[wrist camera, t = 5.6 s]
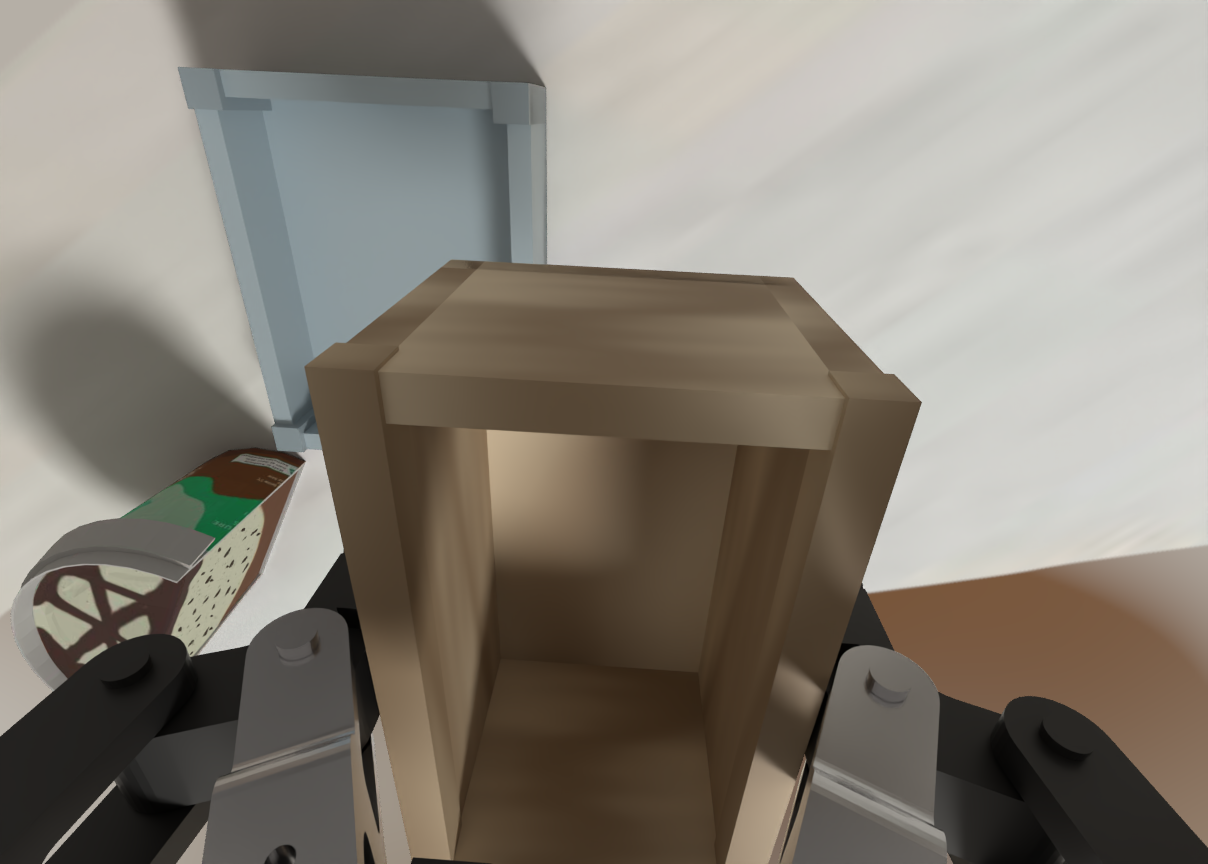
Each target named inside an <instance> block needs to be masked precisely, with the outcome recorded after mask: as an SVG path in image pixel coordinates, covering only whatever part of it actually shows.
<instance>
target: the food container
mask: <svg viewBox="0 0 1208 864" xmlns="http://www.w3.org/2000/svg"><path fill="white" fill-rule="evenodd" d="M305 462H306V461H304V460H301V459H299V458H296V457H294V456H291V455H289V454H286V453H283V452H278V451H272V450H266V449H260V448H247V449H238V450H229V451H227V452H225V453H223V454H221V455H219V456H217V457H215V458H213V459H211V460H209V461H207V462H206V463H204V464H202V465H201V466H199V467H198V468H196V469H195V470H193V471H192V472H190V473H189V474H187V475H186V476H184V477H182V478H181V479H179V480H178V481H176V482H175V483H173V484H172V485H170V486H169V487H167V488H166V489H164V490H162V491H161V492H159V493H158V494H156V495H155V496H153V497H152V498H150V499H149V500H147V501H146V502H144V503H143V504H141V505H139V506H138V507H136V508H135V509H133V510H132V511H130V512H129V513H127V514H126V515H124V516H123V517H121V518H118V519H110V520H102V521H96V522H93V523H89V524H86V525H83V526H79V527H78V528H76V529H74V530H72V531H70V532H68V533H67V534H65V535H63V536H62V537H61V538H60V539H59V540H58V541H57V542H56V543H55V544H54V545H53V546H52V547H51V548H50V549H49V550H48V551H47V553H46V554H45V555H44V556H43V557H42V558H41V559H40V560H39V562H38V563H37V564H36V565H35V566H34V567H33V568H32V570H31V571H30V572H29V573H28V575H27V577H26V578H25V580H24V582H23V583H22V586H21V589H20V591H19V592H18V594H17V596H16V597H15V599H14V602H13V606H12V610H11V628H12V631H13V635H14V639H15V642H16V644H17V646H18V648H19V650H20V652H21V654H22V656H23V657H24V659H25V660H26V662H27V663H28V665H29V666H30V667H31V669H32V670H33V671H34V673H35V674H36V675H37V676H38V677H39V678H40V679H41V680H42V681H43V682H44V684H45V685H46V686H48V687H49V688H50V689H51V690H52V691H54V690H55V689H57V688H58V687H59V686H60V685H61V684H62V683H64V682H65V681H66V680H67V679H68V678H69V677H71V676H72V675H73V674H74V673H75V672H76V671H78V670H79V669H80V668H81V667H82V666H83V665H85V664H86V663H87V662H88V661H90V660H91V659H92V658H94V657H95V656H96V655H98V654H100V653H101V652H103V651H104V650H106V649H108V648H110V647H112V646H114V645H116V644H118V643H121V642H123V641H126V640H129V639H131V638H135V637H139V636H143V635H149V634H168V635H172V636H175V637H177V638H179V639H181V640H182V642H183V643H184V644H185V646H186V648H187V651H188V653H189V655H190V657H192V656H197V655H198V654H199V653H200V652H201V651H202V649H203V648H204V647H205V646H206V644H207V643H208V642H209V641H210V639H211V638H212V637H213V636H214V634H215V633H216V632H217V631H218V629H219V628H220V627H221V625H222V624H223V623H224V622H225V620H226V619H227V618H228V617H229V615H230V614H231V613H232V612H233V610H234V609H235V608H236V607H237V605H238V604H239V603H240V602H241V600H242V599H243V598H244V596H245V595H246V594H247V593H248V591H249V590H250V589H251V588H252V586H253V585H254V584H255V583H256V581H257V580H258V579H259V578H260V576H261V575H262V574H263V571H264V568H265V566H266V563H267V561H268V558H269V555H270V553H271V550H272V548H273V545H274V542H275V540H276V537H277V535H278V532H279V529H280V527H281V524H282V522H283V519H284V516H285V514H286V511H287V509H288V506H289V504H290V501H291V498H292V496H293V493H294V491H295V488H296V485H297V483H298V480H299V478H300V475H301V472H302V470H303V467H304V465H305Z"/></svg>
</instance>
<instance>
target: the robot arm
mask: <svg viewBox="0 0 1208 864" xmlns="http://www.w3.org/2000/svg"><path fill="white" fill-rule="evenodd" d="M379 715H380V712H379V708H378V703H377V699H376V694H375V690H374V685H373V680H372V676H371V671H370V667H369V662H368V657H367V653H366V648H365V644H364V639H363V634H362V630H361V625H360V621H359V616H358V611H357V607H356V602H355V598H354V593H353V589H352V584H351V579H350V575H349V570H348V566H347V561H346V556H345V552H344V553H343V554H340V556H339V557H338V559H337V560H336V562H335V563H334V565H333V566H332V568H331V569H330V571H329V572H328V574H327V575H326V577H325V578H324V580H323V581H322V583H321V584H320V586H319V587H318V589H317V590H316V592H315V593H314V595H313V596H312V598H311V599H310V601H309V602H308V604H307V605H306V607H305V608H304V609H302V610H298V611H294V612H291V613H288V614H286V615H283V616H281V617H279V618H278V619H276V620H274V621H272V622H271V623H269V624H268V625H267V626H265V627H264V628H263V629H262V630H261V631H260V632H259V633H258V634H257V635H256V636H255V637H254V639H253V640H252V641H251V643H250V645H249V646H244V647H240V648H235V649H230V650H224V651H219V652H213V653H208V654H203V655H197V656H192V657H190V655H189V653H188V651H187V648H186V646H185V644H184V643H183V642H182V640H181V639H179V638H177V637H175V636H172V635H168V634H149V635H143V636H139V637H135V638H131V639H129V640H126V641H123V642H121V643H118V644H116V645H114V646H112V647H110V648H108V649H106V650H104V651H103V652H101V653H100V654H98V655H96V656H95V657H94V658H92V659H91V660H90V661H88V662H87V663H86V664H85V665H83V666H82V667H81V668H80V669H79V670H78V671H76V672H75V673H74V674H73V675H72V676H71V677H69V678H68V679H67V680H66V681H65V682H64V683H62V684H61V685H60V686H59V687H58V688H57V689H55V690H54V691H53V692H52V693H51V694H50V695H49V696H47V697H46V698H45V699H44V700H43V701H41V702H40V703H39V704H38V705H37V706H36V707H35V708H33V709H32V710H31V711H30V712H29V713H27V714H26V715H25V716H24V717H23V718H22V719H20V720H19V721H18V722H17V723H16V724H14V725H13V726H12V727H11V728H10V729H9V730H7V731H6V732H5V733H4V734H3V735H2V736H0V864H42V863H43V861H44V859H45V858H46V856H47V854H48V853H49V852H50V850H51V849H52V848H53V847H54V845H55V844H56V843H57V842H58V841H59V840H60V839H61V838H62V836H63V835H64V834H65V833H66V832H67V831H68V830H69V829H70V828H71V827H72V826H73V824H74V823H75V822H76V821H77V820H78V819H79V818H80V817H81V816H82V815H83V814H84V813H85V811H86V810H87V809H88V808H89V807H90V806H91V805H92V804H93V803H94V802H95V801H96V800H97V798H98V797H99V796H100V795H101V794H102V793H103V792H104V791H105V790H106V789H107V788H108V786H109V785H110V784H111V783H112V782H113V781H115V782H116V784H117V785H116V786H115V787H114V788H113V789H112V791H111V792H110V793H109V794H108V795H107V796H106V797H105V798H104V799H103V800H102V802H101V803H100V804H99V805H98V806H97V807H96V808H95V809H94V811H92V813H91V814H90V815H89V816H88V817H87V818H86V819H85V820H84V821H83V822H82V824H81V825H80V826H79V827H78V828H77V829H76V830H75V831H74V833H72V835H71V836H70V837H69V838H68V839H67V840H66V841H65V842H64V843H63V844H62V845H61V847H60V848H59V849H58V850H57V851H56V852H55V853H54V854H53V855H52V857H51V858H50V859H49V860H48V861H47V862H46V863H45V864H176V863H177V861H178V860H179V858H180V857H181V856H182V855H183V853H184V852H185V851H186V849H187V848H188V847H189V845H190V844H191V843H192V841H193V840H194V838H195V837H196V836H197V834H198V833H199V832H200V830H201V829H202V827H203V826H204V825H205V823H206V822H207V821H208V825H207V832H206V839H205V846H204V853H203V860H202V864H387V861H386V853H385V846H384V836H383V826H382V816H381V806H380V795H379V786H378V775H377V765H376V754H375V744H374V738H373V733H372V731H373V729H374V727H375V724H376V722H377V720H378V717H379ZM805 756H806V761H805V764H804V767H803V770H802V773H801V777H800V781H799V785H798V789H797V792H796V796H795V800H794V804H793V808H792V811H791V815H790V819H789V822H788V826H787V830H786V834H785V838H784V842H783V845H782V849H781V853H780V856H779V861H778V864H947V853H948V854H949V856H950V858H951V860H952V862H953V864H1208V848H1207V846H1206V845H1205V844H1204V843H1203V842H1202V841H1201V840H1200V839H1199V838H1198V836H1197V835H1196V834H1195V833H1194V832H1193V831H1192V830H1191V829H1190V827H1189V826H1188V825H1187V824H1186V823H1185V822H1184V821H1183V820H1182V818H1181V817H1180V816H1179V815H1178V814H1177V813H1176V812H1175V811H1174V810H1173V808H1172V807H1171V806H1170V805H1169V804H1168V803H1167V802H1166V801H1165V799H1164V798H1163V797H1162V796H1161V795H1160V794H1159V793H1158V791H1157V790H1156V789H1155V788H1154V787H1153V786H1152V785H1151V784H1150V783H1149V781H1148V780H1147V779H1146V778H1145V777H1144V776H1143V775H1142V774H1141V772H1140V771H1139V770H1138V769H1137V768H1136V767H1135V766H1134V765H1133V763H1132V762H1131V761H1130V760H1129V759H1128V758H1127V757H1126V756H1125V754H1124V753H1123V752H1122V751H1121V750H1120V749H1119V748H1118V747H1117V745H1116V744H1115V743H1114V742H1113V741H1112V740H1111V739H1110V738H1109V737H1108V736H1107V735H1106V734H1105V732H1103V730H1101V729H1100V728H1099V727H1098V726H1097V725H1096V724H1094V723H1093V722H1092V721H1090V720H1089V719H1088V718H1086V717H1085V716H1083V715H1082V714H1080V713H1078V712H1077V711H1075V710H1073V709H1071V708H1069V707H1067V706H1065V705H1063V704H1060V703H1058V702H1055V701H1053V700H1049V699H1046V698H1041V697H1035V696H1034V697H1032V696H1025V697H1019V698H1017V699H1014V700H1012V701H1011V702H1009V704H1008V705H1007V706H1006V708H1005V710H1004V711H1003V713H1002V714H999V713H996V712H993V711H990V710H987V709H984V708H981V707H978V706H974V705H971V704H968V703H965V702H962V701H959V700H956V699H953V698H951V697H948V696H946V695H944V694H942V693H940V692H938V691H937V689H936V687H935V685H934V683H933V682H932V680H931V679H930V677H929V676H928V675H927V674H926V673H925V672H924V670H923V669H921V668H920V667H919V666H918V665H917V664H916V663H914V662H913V661H911V660H910V659H909V658H907V657H905V656H903V655H902V654H900V653H897V652H895V651H894V649H893V647H892V645H891V643H890V641H889V638H888V636H887V634H886V632H885V630H884V628H883V626H882V624H881V622H880V619H879V618H878V615H877V613H876V611H875V609H874V607H873V605H872V603H871V601H870V598H869V596H868V594H867V592H866V590H865V589H863V584H862V583H861V586H860V589H859V592H858V595H857V598H856V601H855V604H854V607H853V610H852V613H851V616H850V619H849V622H848V625H847V628H846V631H845V634H844V637H843V640H842V643H841V646H840V649H839V652H838V655H837V658H836V661H835V664H834V667H833V670H832V673H831V676H830V679H829V682H828V685H827V688H826V691H825V694H824V697H823V700H822V703H821V706H820V709H819V712H818V715H817V718H816V721H815V724H814V727H813V730H812V733H811V736H810V739H809V742H808V745H807V748H806V751H805ZM411 864H491V863H481V862H468V861H455V860H442V859H429V858H416V857H413V859H412V862H411Z"/></svg>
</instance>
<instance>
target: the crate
mask: <svg viewBox="0 0 1208 864" xmlns="http://www.w3.org/2000/svg"><path fill="white" fill-rule="evenodd" d="M178 71H179V74H180V78H181V82H182V86H183V90H184V94H185V98H186V101H187V105H188V109H195V113H196V117H197V121H198V125H199V129H200V133H201V137H202V140H203V144H204V148H205V152H206V156H207V160H208V164H209V168H210V172H211V176H212V180H213V183H214V187H215V191H216V195H217V199H218V203H219V207H220V211H221V215H222V219H223V222H224V226H225V230H226V234H227V238H228V242H229V246H230V250H231V254H232V258H233V262H234V265H235V269H236V273H237V277H238V281H239V285H240V289H241V293H242V297H243V301H244V305H245V308H246V312H247V316H248V320H249V324H250V328H251V332H252V336H253V340H254V344H255V347H256V351H257V355H258V359H259V363H260V367H261V371H262V375H263V379H264V383H265V387H266V390H267V394H268V398H269V402H270V406H271V410H272V414H273V418H274V422H275V424H274V425H273V426H272V427H271V428H272V432H273V436H274V439H275V443H276V447H277V451H292V452H304V451H305V450H306V449H315V450H322V446H321V442H320V437H319V433H318V428H317V423H316V419H315V414H314V410H313V405H312V400H311V396H310V391H309V387H308V382H307V377H306V373H305V368H304V366H305V365H307V364H308V363H309V362H311V361H312V360H313V359H315V358H316V357H317V356H319V355H320V354H321V353H322V352H324V351H325V350H326V349H328V348H329V347H330V346H332V345H333V344H334V343H336V342H337V343H347V342H348V341H349V340H350V339H352V338H353V337H354V336H355V335H357V334H358V333H359V332H360V331H362V330H363V329H364V328H365V327H367V326H368V325H369V324H370V323H372V322H373V321H374V320H375V319H377V318H378V317H379V316H381V315H382V314H383V313H384V312H386V311H387V310H388V309H389V308H391V307H392V306H393V305H394V304H396V303H397V302H398V301H399V300H401V299H402V298H403V297H404V296H406V295H407V294H408V293H409V292H411V291H412V290H413V289H415V288H416V287H417V286H418V285H420V284H421V283H422V282H423V281H425V280H426V279H427V278H428V277H430V276H431V275H432V274H433V273H435V272H436V271H437V270H438V269H440V268H441V267H442V266H443V265H445V264H446V263H447V262H448V261H450V260H451V259H452V260H470V261H489V262H508V263H526V264H545V265H547V183H546V87H542V86H538V85H535V84H531V83H519V82H497V81H491V82H489V81H467V80H445V79H423V78H401V77H379V76H357V75H335V74H313V73H291V72H269V71H247V70H225V69H211V68H189V67H178Z"/></svg>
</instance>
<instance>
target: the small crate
mask: <svg viewBox="0 0 1208 864" xmlns="http://www.w3.org/2000/svg"><path fill="white" fill-rule="evenodd" d="M304 368H305V373H306V377H307V382H308V387H309V391H310V396H311V400H312V405H313V410H314V414H315V419H316V423H317V428H318V433H319V437H320V442H321V446H322V451H323V455H324V460H325V465H326V469H327V474H328V478H329V483H330V488H331V492H332V497H333V501H334V506H335V511H336V515H337V520H338V524H339V529H340V533H341V538H342V543H343V547H344V552H345V556H346V561H347V566H348V570H349V575H350V579H351V584H352V589H353V593H354V598H355V602H356V607H357V611H358V616H359V621H360V625H361V630H362V634H363V639H364V644H365V648H366V653H367V657H368V662H369V667H370V671H371V676H372V680H373V685H374V690H375V694H376V699H377V703H378V708H379V712H380V717H381V721H382V726H383V730H384V735H385V740H386V745H387V749H388V754H389V758H390V763H391V768H392V772H393V777H394V781H395V786H396V790H397V795H398V799H399V804H400V809H401V813H402V818H403V823H404V827H405V832H406V836H407V841H408V845H409V850H410V854H411V859H413V857H416V858H429V859H442V860H455V861H468V862H481V863H491V864H768V863H769V859H770V856H771V853H772V851H773V847H774V845H775V841H776V838H777V835H778V832H779V829H780V826H781V823H782V820H783V817H784V814H785V811H786V808H787V805H788V802H789V799H790V796H791V793H792V790H793V787H794V784H795V781H796V778H797V775H798V772H799V769H800V766H801V763H802V760H803V757H804V754H805V751H806V748H807V745H808V742H809V739H810V736H811V733H812V730H813V727H814V724H815V721H816V718H817V715H818V712H819V709H820V706H821V703H822V700H823V697H824V694H825V691H826V688H827V685H828V682H829V679H830V676H831V673H832V670H833V667H834V664H835V661H836V658H837V655H838V652H839V649H840V646H841V643H842V640H843V637H844V634H845V631H846V628H847V625H848V622H849V619H850V616H851V613H852V610H853V607H854V604H855V601H856V598H857V595H858V592H859V589H860V586H861V583H862V580H863V577H864V574H865V571H866V568H867V565H868V562H869V559H870V556H871V553H872V550H873V547H874V544H875V541H876V538H877V535H878V532H879V529H880V526H881V523H882V520H883V517H884V514H885V511H886V508H887V505H888V502H889V499H890V496H891V493H892V490H893V487H894V484H895V481H896V478H897V475H898V472H899V469H900V466H901V463H902V460H903V457H904V454H905V451H906V448H907V445H908V442H909V439H910V436H911V433H912V430H913V427H914V424H915V421H916V418H917V415H918V412H919V409H920V406H921V403H922V402H921V401H920V400H919V399H918V398H917V397H916V396H915V395H914V394H913V393H912V392H911V391H910V390H909V389H908V388H907V387H906V386H905V385H904V384H903V383H902V382H901V381H900V380H899V379H898V378H897V377H896V376H895V375H894V374H884V373H883V372H882V371H881V370H880V369H879V368H878V367H877V366H876V365H875V364H874V363H873V362H872V361H871V359H870V358H869V357H868V356H867V355H866V354H865V353H864V352H863V351H862V350H861V349H860V348H859V347H858V346H857V345H856V344H855V343H854V341H853V340H852V339H851V338H850V337H849V336H848V335H847V334H846V333H845V332H844V331H843V330H842V329H841V328H840V327H839V326H838V324H837V323H836V322H835V321H834V320H833V319H832V318H831V317H830V316H829V315H828V314H827V313H826V312H825V311H824V310H823V309H822V308H821V306H820V305H819V304H818V303H817V302H816V301H815V300H814V299H813V298H812V297H811V296H810V295H809V294H808V293H807V292H806V291H805V290H804V288H803V287H802V286H801V285H800V284H799V283H798V282H797V281H796V280H795V279H794V278H788V277H770V276H751V275H732V274H714V273H695V272H676V271H657V270H639V269H620V268H601V267H583V266H564V265H545V264H526V263H508V262H489V261H470V260H452V259H451V260H450V261H448V262H447V263H446V264H445V265H443V266H442V267H441V268H440V269H438V270H437V271H436V272H435V273H433V274H432V275H431V276H430V277H428V278H427V279H426V280H425V281H423V282H422V283H421V284H420V285H418V286H417V287H416V288H415V289H413V290H412V291H411V292H409V293H408V294H407V295H406V296H404V297H403V298H402V299H401V300H399V301H398V302H397V303H396V304H394V305H393V306H392V307H391V308H389V309H388V310H387V311H386V312H384V313H383V314H382V315H381V316H379V317H378V318H377V319H375V320H374V321H373V322H372V323H370V324H369V325H368V326H367V327H365V328H364V329H363V330H362V331H360V332H359V333H358V334H357V335H355V336H354V337H353V338H352V339H350V340H349V341H348V342H347V343H337V342H336V343H334V344H333V345H332V346H330V347H329V348H328V349H326V350H325V351H324V352H322V353H321V354H320V355H319V356H317V357H316V358H315V359H313V360H312V361H311V362H309V363H308V364H307V365H305V366H304Z"/></svg>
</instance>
